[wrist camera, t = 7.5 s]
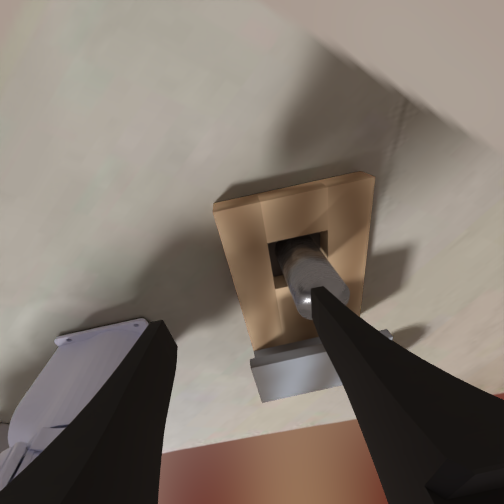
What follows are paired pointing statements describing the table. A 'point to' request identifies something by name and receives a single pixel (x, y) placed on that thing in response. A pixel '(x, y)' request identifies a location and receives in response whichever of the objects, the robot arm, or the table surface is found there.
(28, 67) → the table surface
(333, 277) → the peg
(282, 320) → the socket board
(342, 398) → the table surface
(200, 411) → the table surface
